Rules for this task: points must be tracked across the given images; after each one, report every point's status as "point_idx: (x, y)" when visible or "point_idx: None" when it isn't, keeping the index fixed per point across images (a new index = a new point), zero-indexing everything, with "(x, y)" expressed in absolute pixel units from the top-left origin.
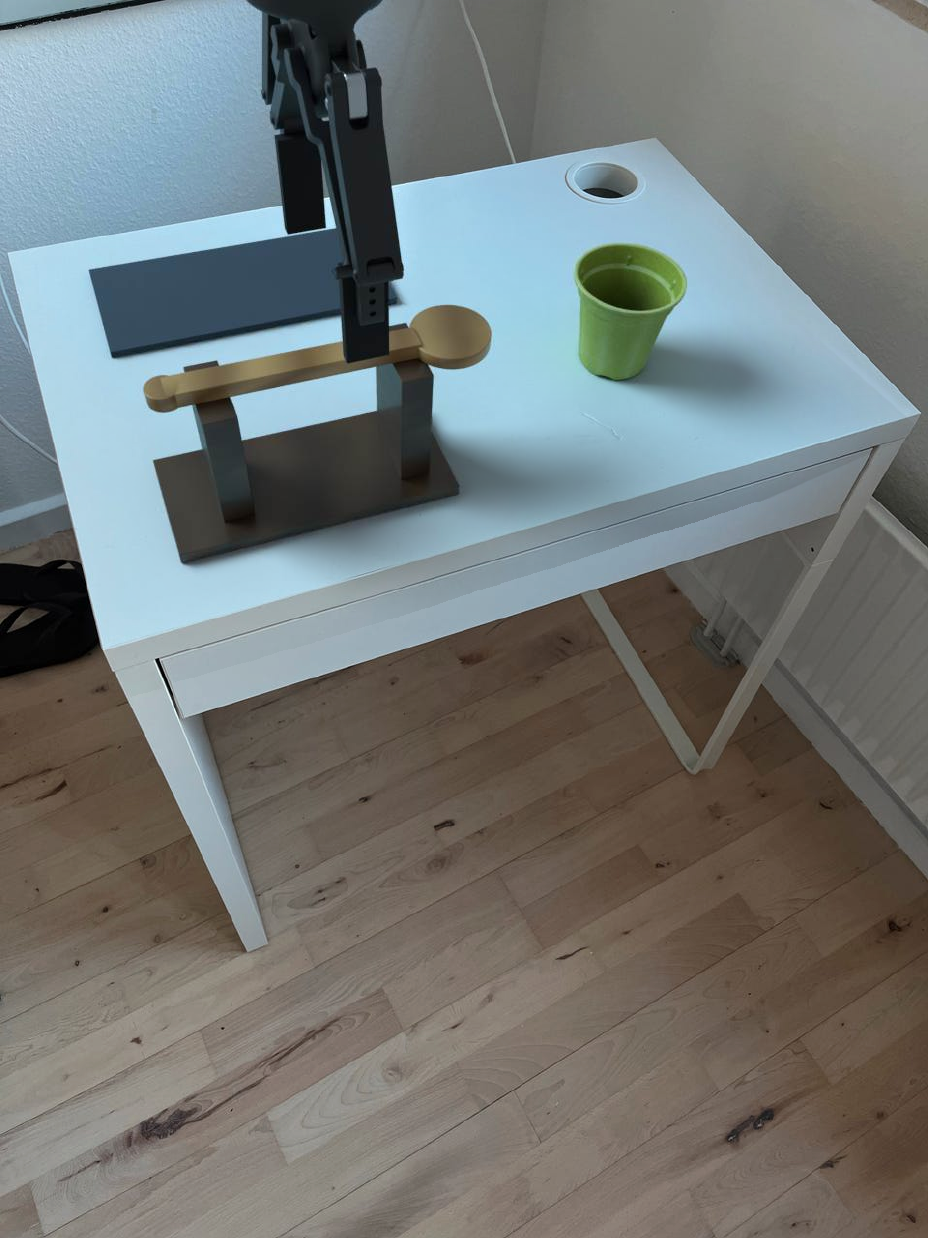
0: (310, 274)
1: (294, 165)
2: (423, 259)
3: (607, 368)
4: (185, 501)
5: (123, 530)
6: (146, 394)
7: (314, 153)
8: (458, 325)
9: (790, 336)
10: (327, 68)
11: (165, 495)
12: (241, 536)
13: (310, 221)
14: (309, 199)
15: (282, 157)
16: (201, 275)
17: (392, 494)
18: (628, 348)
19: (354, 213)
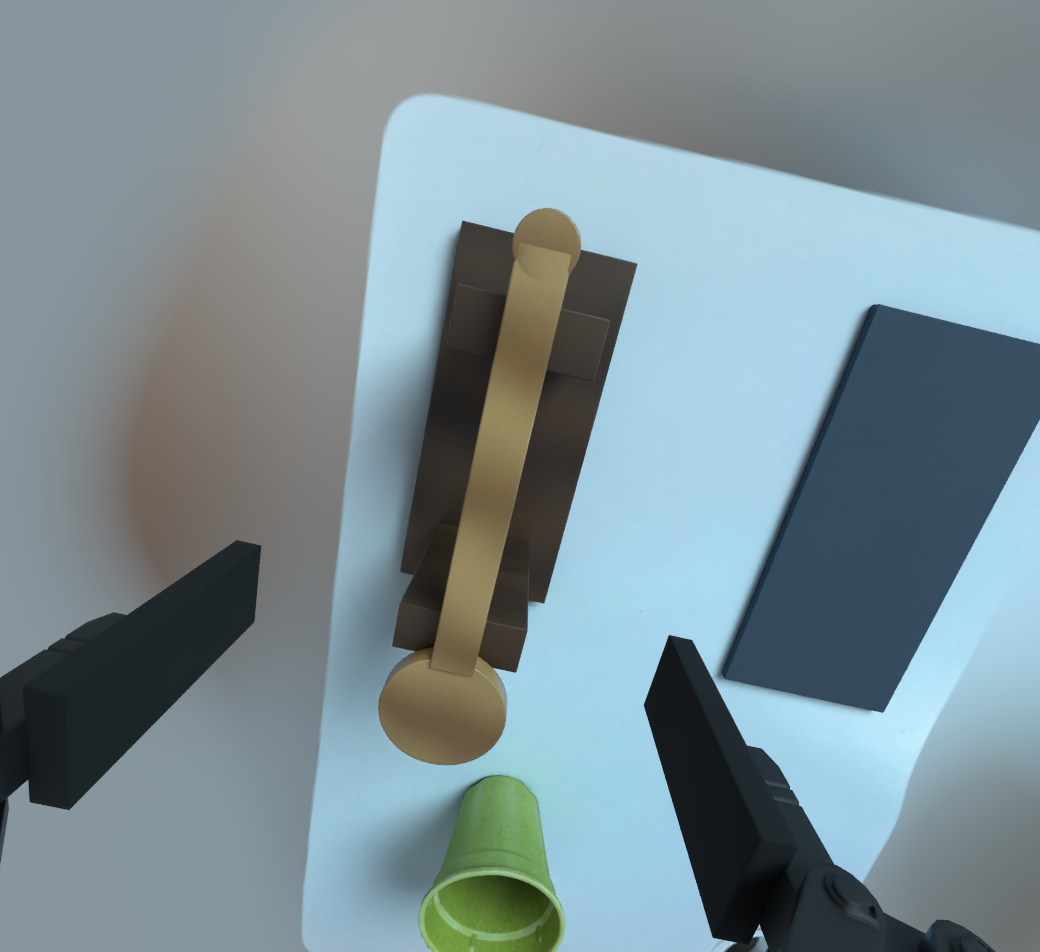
0: (835, 614)
1: (712, 793)
2: (771, 738)
3: (472, 794)
4: None
5: (556, 177)
6: (540, 209)
7: (700, 864)
8: (446, 729)
9: None
10: None
11: None
12: (452, 309)
13: (657, 693)
14: (671, 735)
15: (732, 794)
16: (937, 492)
17: (424, 502)
18: (453, 835)
19: None
